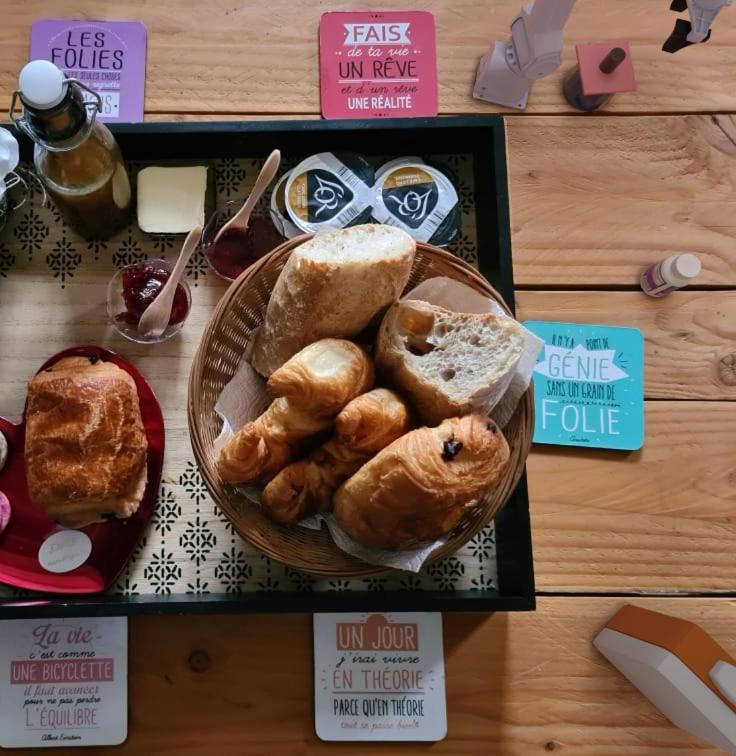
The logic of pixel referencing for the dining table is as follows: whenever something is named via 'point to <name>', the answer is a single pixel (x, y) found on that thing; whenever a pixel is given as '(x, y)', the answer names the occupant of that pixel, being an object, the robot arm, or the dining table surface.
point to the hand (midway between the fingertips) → (671, 29)
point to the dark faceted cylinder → (575, 93)
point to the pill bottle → (670, 274)
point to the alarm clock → (676, 671)
